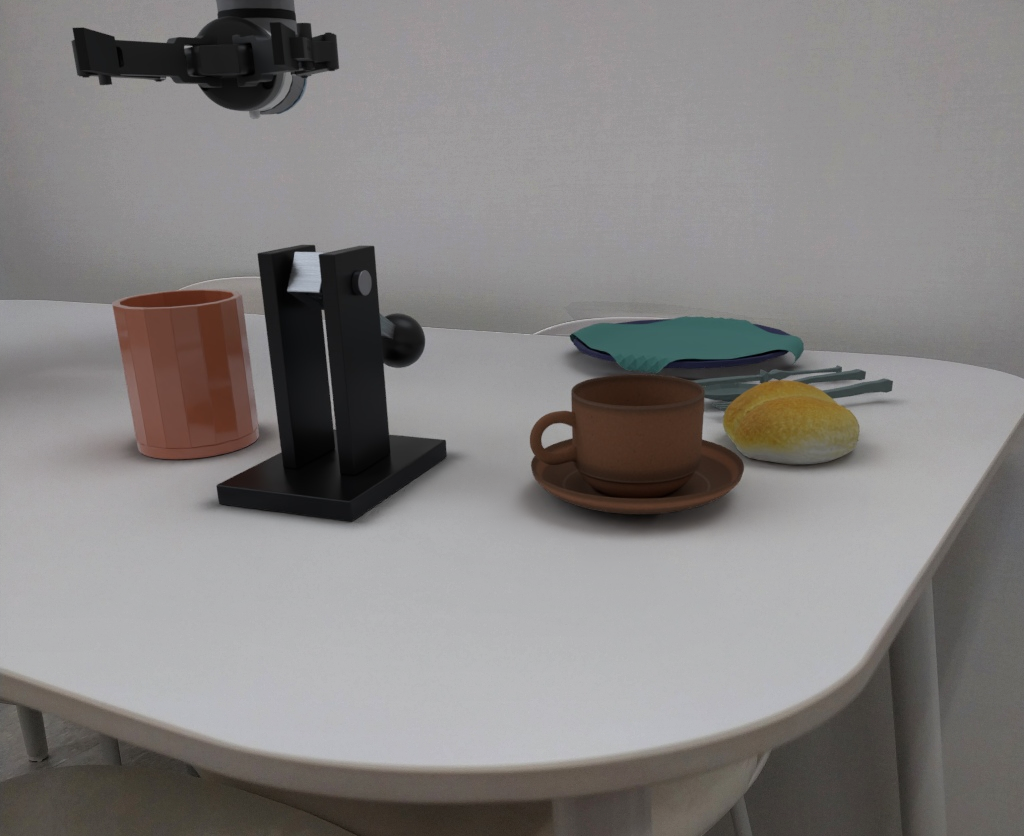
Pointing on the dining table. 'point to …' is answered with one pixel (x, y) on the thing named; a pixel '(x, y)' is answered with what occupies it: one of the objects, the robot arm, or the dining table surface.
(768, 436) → the bread roll
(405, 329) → the lever
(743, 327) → the cutlery set
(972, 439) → the dining table surface
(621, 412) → the cup and saucer
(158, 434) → the cup
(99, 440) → the dining table surface
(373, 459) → the black stand
